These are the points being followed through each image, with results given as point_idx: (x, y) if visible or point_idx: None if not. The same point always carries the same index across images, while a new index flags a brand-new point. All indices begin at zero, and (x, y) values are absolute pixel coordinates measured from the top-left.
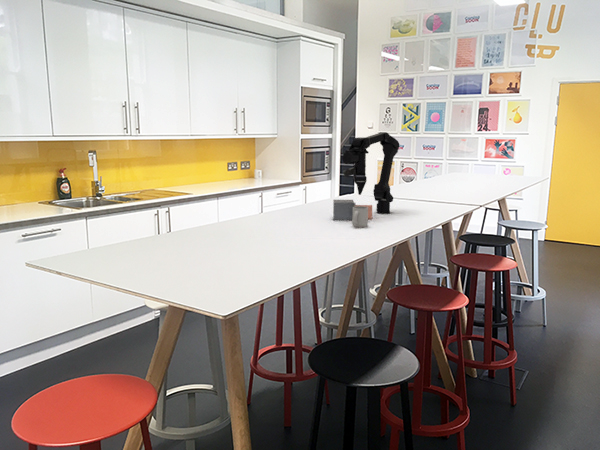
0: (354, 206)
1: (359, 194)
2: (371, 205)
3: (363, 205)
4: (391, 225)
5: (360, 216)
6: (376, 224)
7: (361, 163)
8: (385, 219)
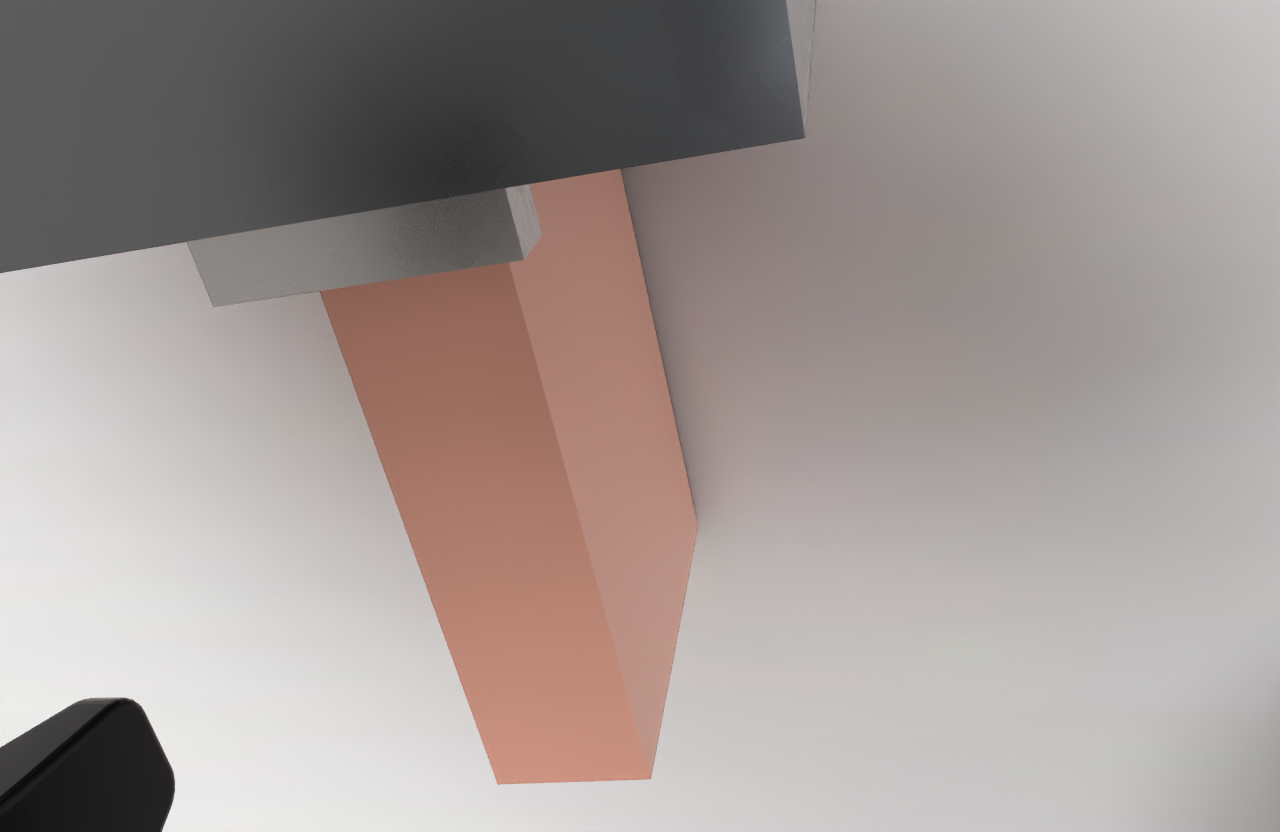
0: None
1: (96, 739)
2: (555, 764)
3: (477, 541)
4: None
5: None
6: (52, 606)
7: None
8: None
